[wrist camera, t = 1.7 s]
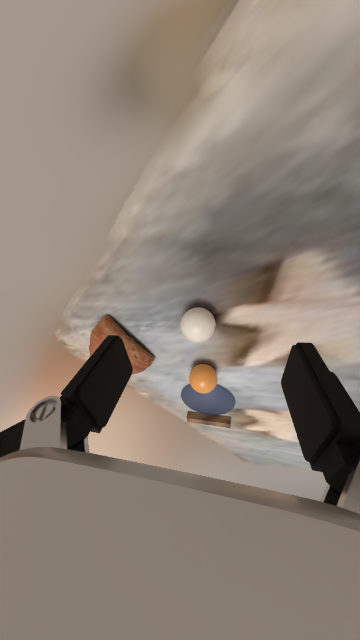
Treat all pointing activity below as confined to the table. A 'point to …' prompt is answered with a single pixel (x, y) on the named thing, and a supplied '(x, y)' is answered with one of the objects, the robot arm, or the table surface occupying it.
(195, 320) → the cue ball
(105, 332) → the ceramic shard
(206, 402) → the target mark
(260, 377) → the table surface
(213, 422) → the stopper rail
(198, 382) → the object ball
